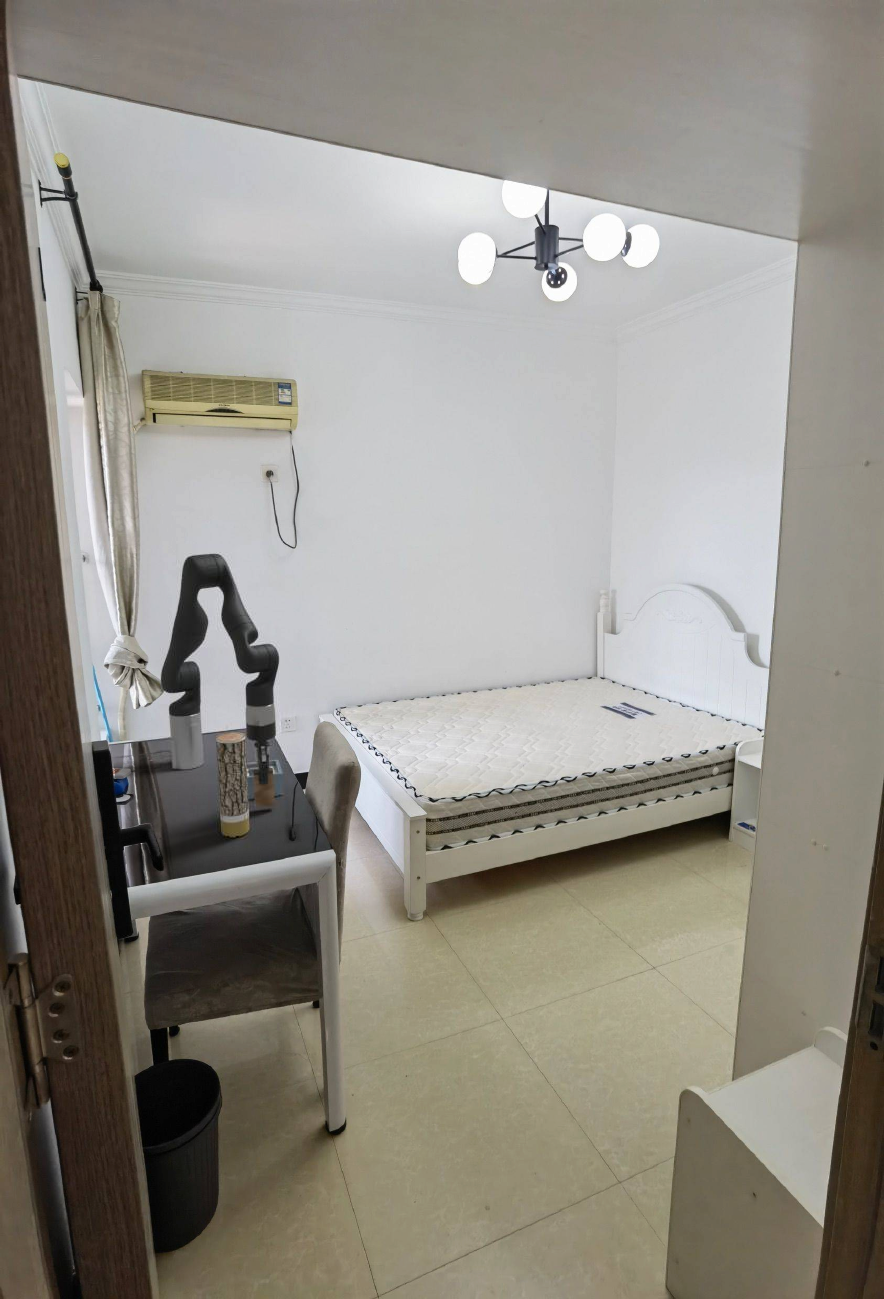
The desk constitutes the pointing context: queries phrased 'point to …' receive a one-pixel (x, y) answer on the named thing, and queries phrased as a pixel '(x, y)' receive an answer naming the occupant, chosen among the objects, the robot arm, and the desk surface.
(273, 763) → the blue open box
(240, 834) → the bark log cylinder
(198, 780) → the desk surface
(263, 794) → the wooden plank
